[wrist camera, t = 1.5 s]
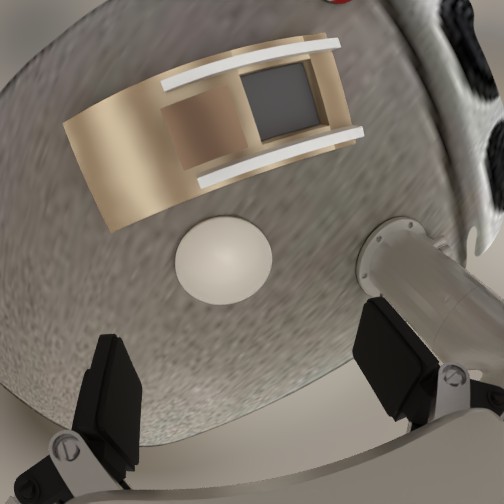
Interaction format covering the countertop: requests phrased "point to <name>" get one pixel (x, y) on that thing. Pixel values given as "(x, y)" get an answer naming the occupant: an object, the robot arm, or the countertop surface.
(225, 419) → the countertop surface
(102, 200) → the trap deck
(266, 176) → the countertop surface
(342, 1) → the beverage can
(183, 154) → the walnut block
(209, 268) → the cream plate
